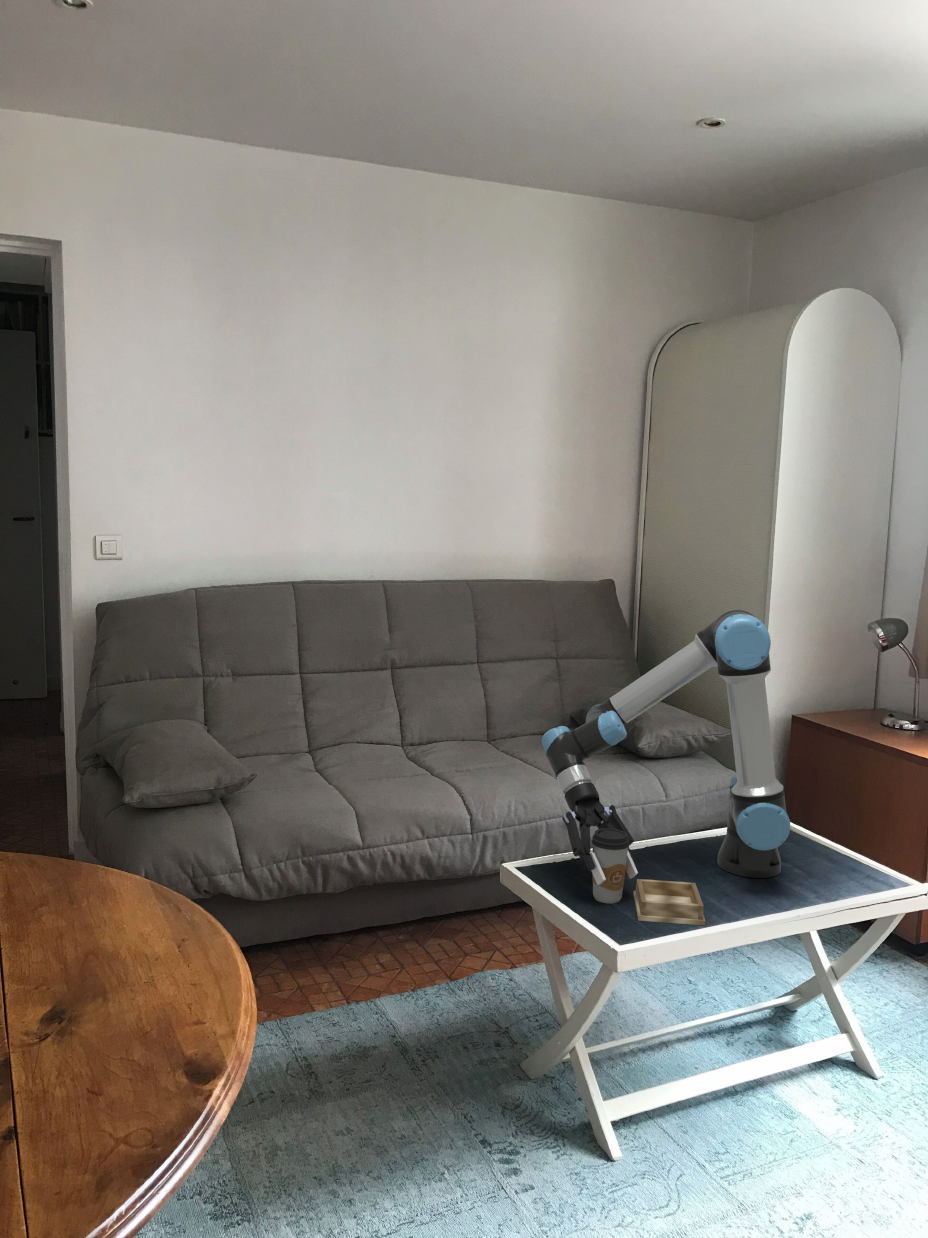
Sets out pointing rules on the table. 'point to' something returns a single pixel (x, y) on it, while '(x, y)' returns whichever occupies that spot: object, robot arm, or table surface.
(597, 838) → the coffee cup
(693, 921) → the open wooden box
